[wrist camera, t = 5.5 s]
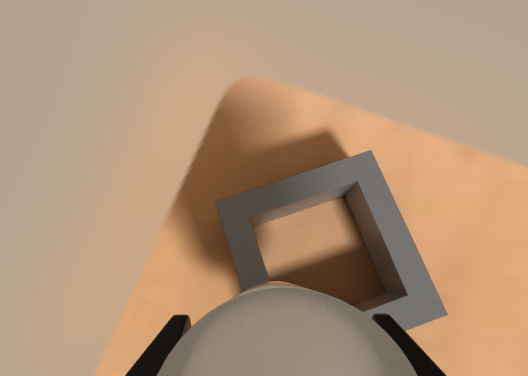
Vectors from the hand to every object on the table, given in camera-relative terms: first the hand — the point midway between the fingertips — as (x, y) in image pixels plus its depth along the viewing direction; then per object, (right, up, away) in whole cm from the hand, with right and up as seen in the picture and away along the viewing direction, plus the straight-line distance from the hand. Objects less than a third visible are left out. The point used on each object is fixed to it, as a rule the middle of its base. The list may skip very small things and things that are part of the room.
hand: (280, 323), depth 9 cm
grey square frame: (+3, -1, +13) cm, 13 cm away
